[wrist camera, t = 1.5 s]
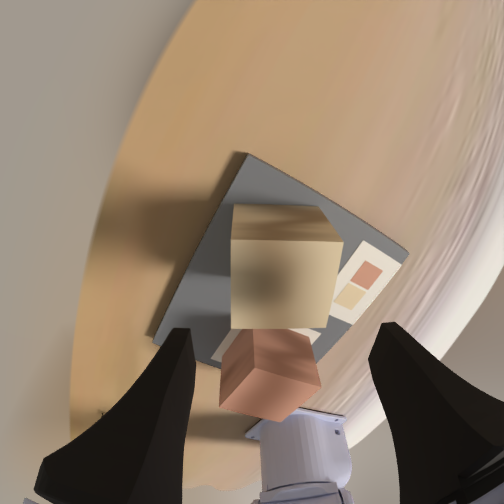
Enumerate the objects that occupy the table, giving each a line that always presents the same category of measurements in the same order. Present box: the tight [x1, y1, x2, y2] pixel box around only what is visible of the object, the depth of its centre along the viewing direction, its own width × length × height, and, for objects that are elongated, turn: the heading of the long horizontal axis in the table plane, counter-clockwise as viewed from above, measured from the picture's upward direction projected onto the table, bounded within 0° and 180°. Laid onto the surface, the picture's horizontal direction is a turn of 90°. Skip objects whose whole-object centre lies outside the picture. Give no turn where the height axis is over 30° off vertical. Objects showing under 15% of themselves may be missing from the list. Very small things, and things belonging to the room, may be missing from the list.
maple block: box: [231, 204, 344, 329], centre depth 16 cm, size 5×5×5 cm
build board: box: [152, 153, 410, 369], centre depth 21 cm, size 13×16×1 cm
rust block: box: [219, 329, 321, 422], centre depth 20 cm, size 5×5×5 cm
